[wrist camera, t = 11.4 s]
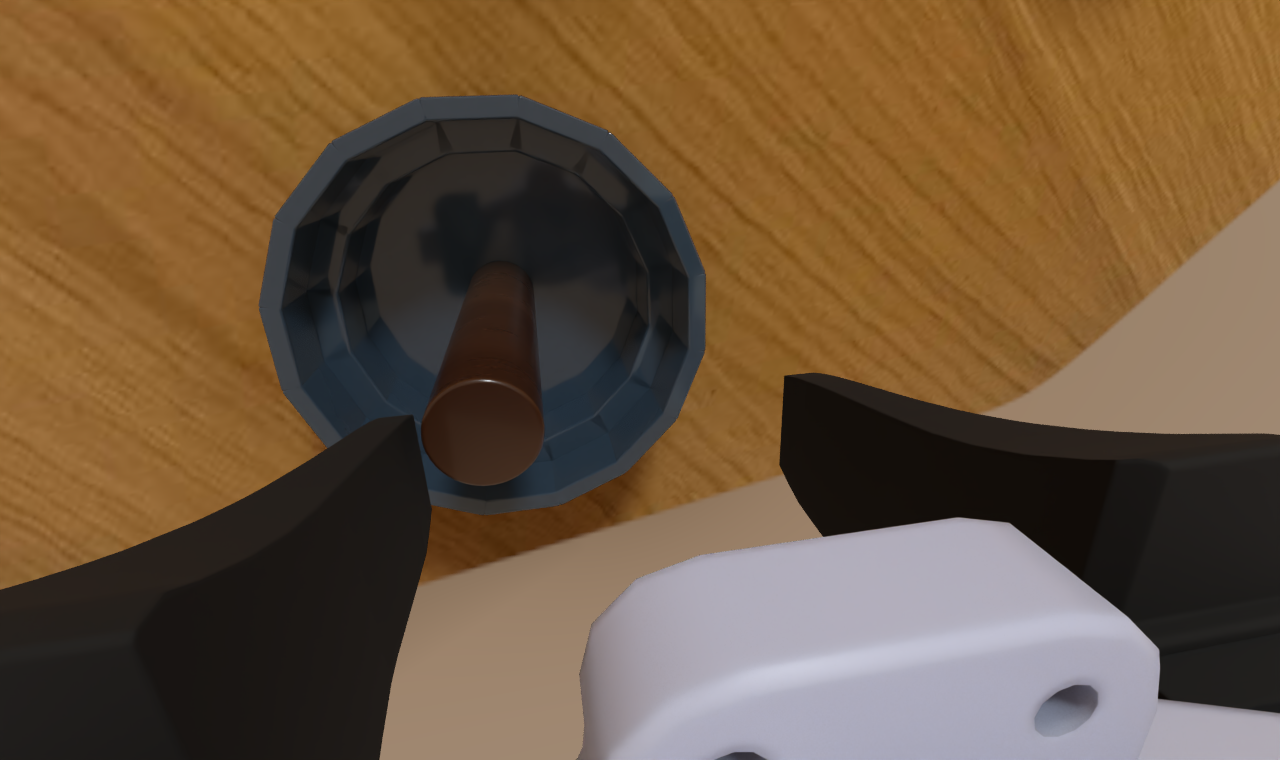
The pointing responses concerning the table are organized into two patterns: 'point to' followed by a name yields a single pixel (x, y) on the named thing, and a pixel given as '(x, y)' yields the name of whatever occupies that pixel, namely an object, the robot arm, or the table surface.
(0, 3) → the table surface
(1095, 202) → the table surface
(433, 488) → the mixing bowl
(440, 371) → the stirring stick
